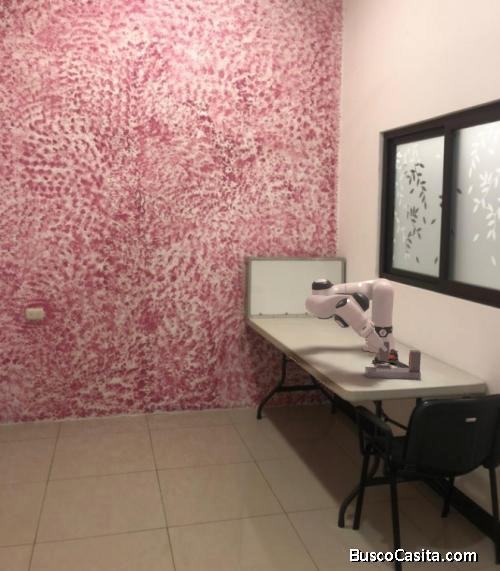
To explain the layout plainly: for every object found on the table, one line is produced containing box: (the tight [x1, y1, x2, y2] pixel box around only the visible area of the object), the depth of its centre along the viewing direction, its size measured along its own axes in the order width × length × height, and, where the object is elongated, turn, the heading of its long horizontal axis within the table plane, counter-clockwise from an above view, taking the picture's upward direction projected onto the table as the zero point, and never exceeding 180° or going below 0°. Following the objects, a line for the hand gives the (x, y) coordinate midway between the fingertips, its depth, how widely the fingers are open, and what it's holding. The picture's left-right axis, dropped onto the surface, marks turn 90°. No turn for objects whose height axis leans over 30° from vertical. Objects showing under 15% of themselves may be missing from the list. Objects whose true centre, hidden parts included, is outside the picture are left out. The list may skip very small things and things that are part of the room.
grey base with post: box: [364, 349, 422, 380], centre depth 276 cm, size 8×24×12 cm, turn 86°
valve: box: [371, 349, 409, 368], centre depth 298 cm, size 6×26×15 cm
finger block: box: [377, 340, 390, 362], centre depth 276 cm, size 4×4×9 cm
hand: (385, 349), depth 276 cm, fingers closed on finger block, 4 cm apart
